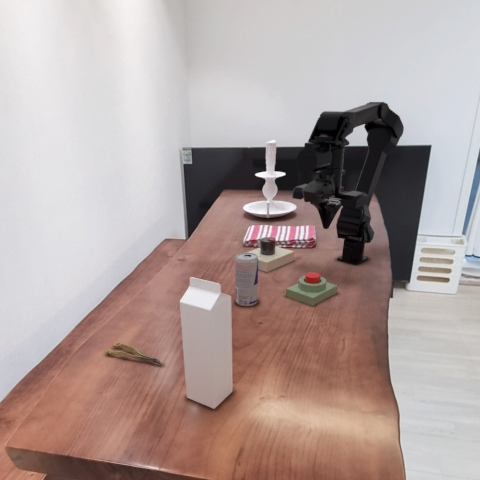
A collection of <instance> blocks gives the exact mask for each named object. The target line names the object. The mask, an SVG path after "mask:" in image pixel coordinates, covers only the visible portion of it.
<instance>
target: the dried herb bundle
mask: <svg viewBox="0 0 480 480" xmlns="http://www.w3.org/2000/svg"><path fill="white" fill-rule="evenodd" d="M112 347H113V348H114V349H118V348H120V349H124V350H127V351H128V352H129V353H128V352H125V351H118V350H117V351H116V350H111V349H110V348H107V350H105V353H107V354H108V355H113V356H118V357H122V358H131V359H136V360H141V361H147V362H151V363H155V364H158V365H159V366H162V361H160V360H159V359H157V358H155V357H151V356H150V355H149V356H148V355H146V354H145V353H143V352H142V351H140V350H139V349H137V348H136V347H133V346H132V345H128V344H126V343H122V342H116V343H115V344H112ZM130 353H134V354H130ZM136 354H137V355H136Z"/></svg>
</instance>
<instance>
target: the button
mask: <svg viewBox="0 0 480 480" xmlns="http://www.w3.org/2000/svg"><path fill="white" fill-rule="evenodd" d="M304 276H305V282H306V283H310V284H316V283H320V277H321V274H320V273H318V272H315V271H314V272H306V273H305V274H304Z"/></svg>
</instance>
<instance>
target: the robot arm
mask: <svg viewBox="0 0 480 480" xmlns="http://www.w3.org/2000/svg"><path fill="white" fill-rule="evenodd" d="M360 126H363V127H364V128H363V129H365V131H366V133H367V136H366V144H367V148H368V151H367V155H366V157H365V160H364V164H363V167H362V170H361V172H360V176H359V178H358V181H357V184H356V187H355V189H354V190H351V191H349V192H346V193H342V192H344V191H345V186H342V183H343V181H342V180H343V176H345V175H346V170H345V169H344V160H345V159H344V158H345V150H346V149H345V148H346V146H347V147H348V146H349V145H350V141H349V140H348V139H347V137H348V136H349V135H351V134H353V133H354V129H355V128H358V127H360ZM404 129H405V127H404V123H403V121H402V119H401V117H400V115H398V114H397V113H396V112H395V111H393V109H391V108H390V106H389V105H388V103H387V102H385V101H369V102H367V103H365V104H363V105H360V106H359V105H358V106H357V107H353V108H349V109H346V110H344V111H341V110H340V111H338V110H337V111H335V110H334V111H333V110H331V111H330V110H327V111H326V110H325V111H322V112H321V113H320V114H319V117H318V118H317V119H316V122H315V125H314V127H313V128H312V131H311V133H310V136H309V138H308V141H307V142H305V143H304V148H302V149H301V150H300V151H299V152H298V154H297V157H296V160H295V161H296V167H297V169H298V171H300V172H301V173H302V174H305V175H310V174H313V173H315V174H314V177H313V180H312V181H310V182H309V183H303V184H301V185H297V186H295V187H294V188H293V190H292V194H291V195H292V196H291V198H292V199H296V200H299V201H300V200H303V201H304V202H305V203H310V205H312V206H313V207H315V209H316V210H317V212H318V215H319V219H320V221H321V225H322V229H323V230H328V229H329V228H330V226H331V224H332V223H333V220H334V218H335V217H336V215H337V214H338V212H339V211H340V212H339V215H338V217H337V219H336V224H335V227H336V235H337V236H336V237H337V238H338V239H342V240H343V245H342V253H341V255H340V256H338V257H336V259H337V260H338V261H342V262H346V263H349V264H352V265H358V264H361V263H363V262H365V261H367V260H369V256H366V255H364V254H365V248H366V247H365V246H366V244H370V243H372V241H373V239H374V235H375V231H374V229H373V227H372V226H371V220H372V216H371V210H370V205H371V201H372V199H373V196H374V193H375V190H376V188H377V184H378V182H379V179H380V176H381V173H382V170H383V167H384V165H385V162H386V158H387V156H388V155H389V154H390V153H391V152H392V151H393V150H394V149H395V148H396V147H397V146H398V144H399V141H400V140H401V138H402V136H403V134H404Z"/></svg>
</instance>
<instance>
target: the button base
mask: <svg viewBox="0 0 480 480" xmlns="http://www.w3.org/2000/svg"><path fill="white" fill-rule="evenodd" d="M337 293H338V285H337V284H334V283H332V282H328V281H327V279H326V278H324V277H323V276H320V283H316V284H310V283H306V282H305V275H302V276H301V277H299V279H298V283H295V284H293V285H291V286H289V287H287V288H286V292H285V297H286V298H290V299H291V300H295V301H298V302H300V303H303V304H306V305H309V306H312V307H313V306H315V305H317V304H319V303H321V302H323V301H325V300H326V299H328V298H330V297H332V296H334V295H337Z"/></svg>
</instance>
